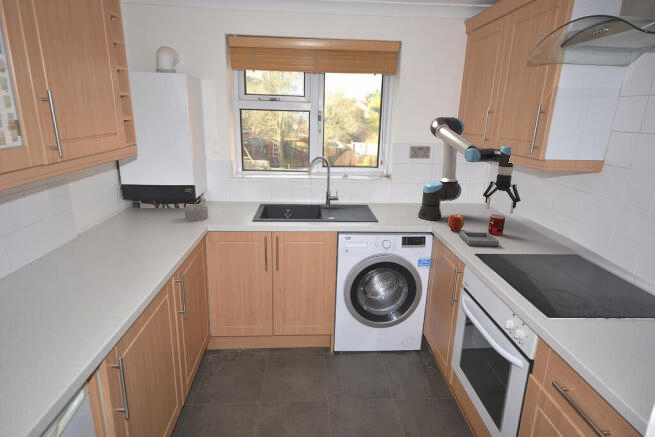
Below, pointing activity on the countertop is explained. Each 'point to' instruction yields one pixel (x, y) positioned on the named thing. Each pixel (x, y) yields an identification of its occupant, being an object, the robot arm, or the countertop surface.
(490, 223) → the canned food
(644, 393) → the countertop surface
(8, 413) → the countertop surface
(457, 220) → the apple
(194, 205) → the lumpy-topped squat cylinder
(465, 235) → the tray
